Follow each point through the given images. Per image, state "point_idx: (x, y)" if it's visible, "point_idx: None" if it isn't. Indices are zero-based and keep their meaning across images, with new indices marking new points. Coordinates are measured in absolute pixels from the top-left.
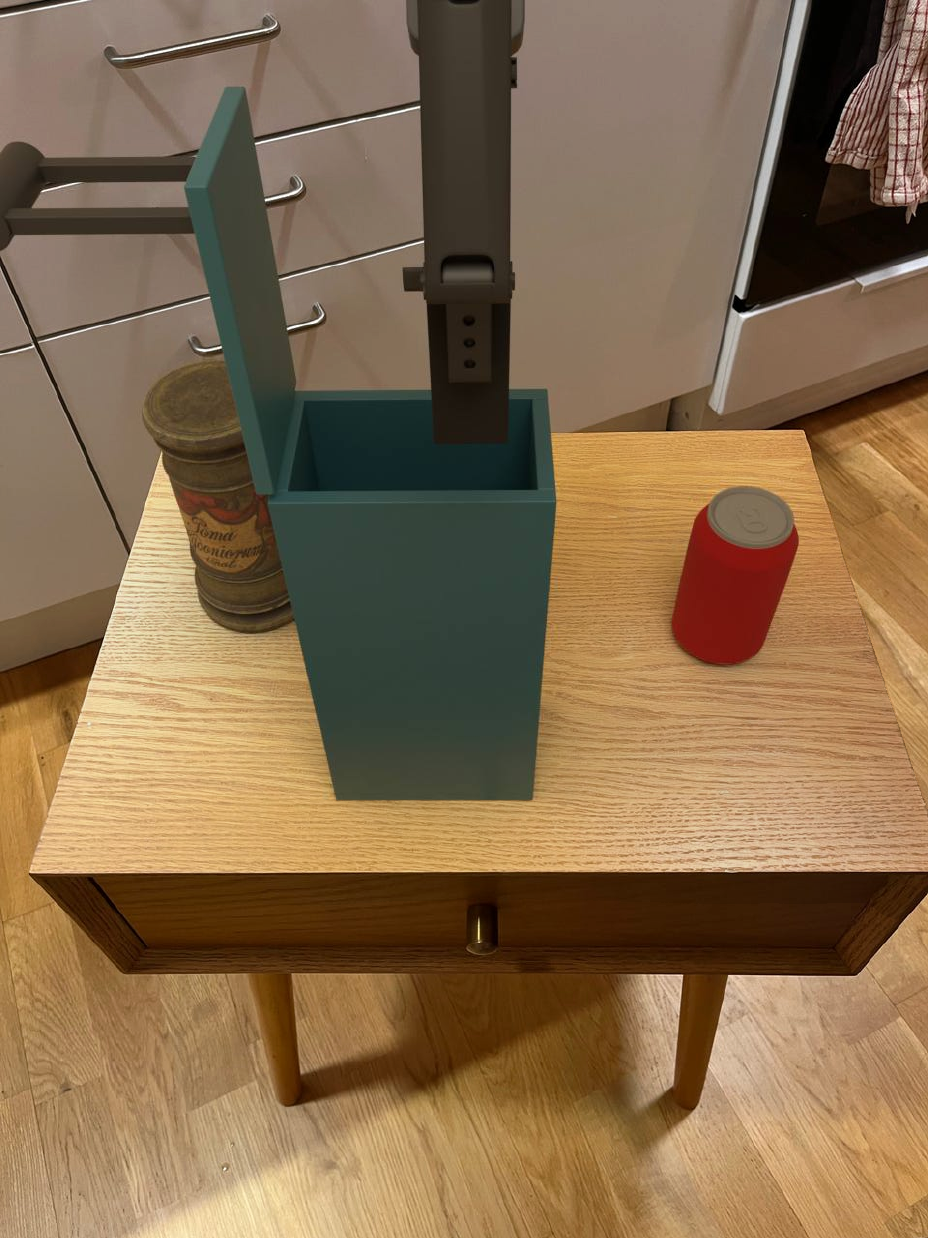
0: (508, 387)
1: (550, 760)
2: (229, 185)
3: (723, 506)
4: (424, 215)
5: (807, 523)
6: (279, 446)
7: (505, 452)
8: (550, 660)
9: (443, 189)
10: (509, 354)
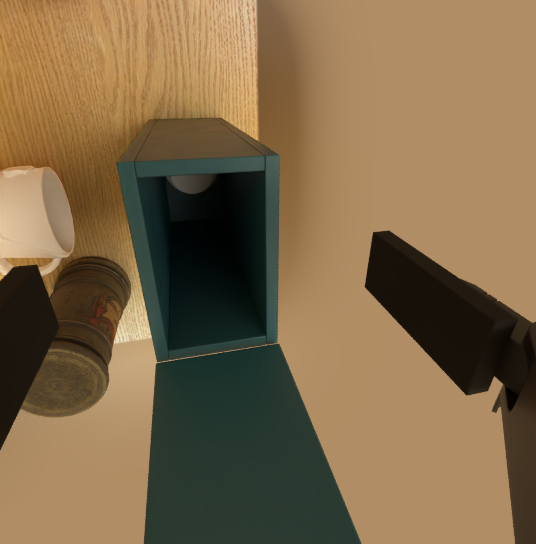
0: (424, 255)
1: (194, 106)
2: None
3: None
4: None
5: None
6: (246, 355)
7: (145, 186)
8: (115, 102)
9: None
10: (448, 271)
